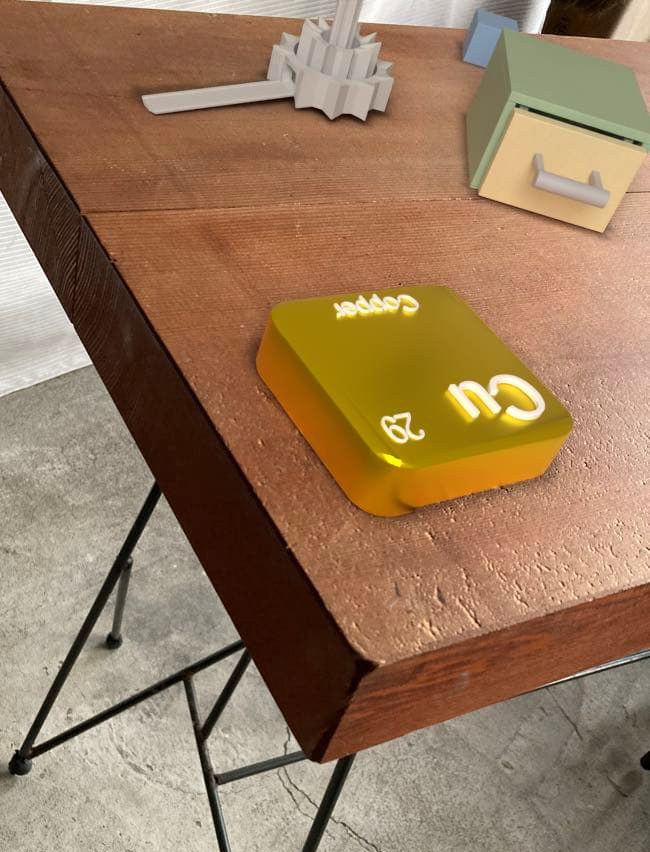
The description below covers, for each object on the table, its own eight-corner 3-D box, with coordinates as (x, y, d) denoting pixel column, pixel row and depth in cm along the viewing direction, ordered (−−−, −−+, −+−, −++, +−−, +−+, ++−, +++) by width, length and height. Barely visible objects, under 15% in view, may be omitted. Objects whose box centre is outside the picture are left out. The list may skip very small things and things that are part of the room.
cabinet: (601, 234, 86) (657, 136, 80) (466, 193, 85) (511, 90, 79) (584, 160, 96) (632, 68, 90) (463, 123, 95) (503, 26, 89)
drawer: (609, 263, 81) (657, 182, 76) (479, 223, 80) (518, 139, 75) (586, 163, 94) (625, 88, 89) (473, 128, 93) (506, 50, 88)
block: (499, 63, 109) (517, 20, 106) (501, 79, 106) (519, 35, 102) (460, 51, 108) (476, 7, 105) (460, 66, 105) (478, 22, 102)
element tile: (424, 330, 69) (450, 272, 66) (556, 478, 62) (593, 421, 58) (242, 356, 62) (260, 293, 59) (365, 527, 55) (395, 466, 51)
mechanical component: (132, 111, 83) (153, -88, 72) (320, 59, 97) (363, -114, 86) (225, 176, 79) (263, -24, 68) (407, 111, 93) (463, -62, 82)
